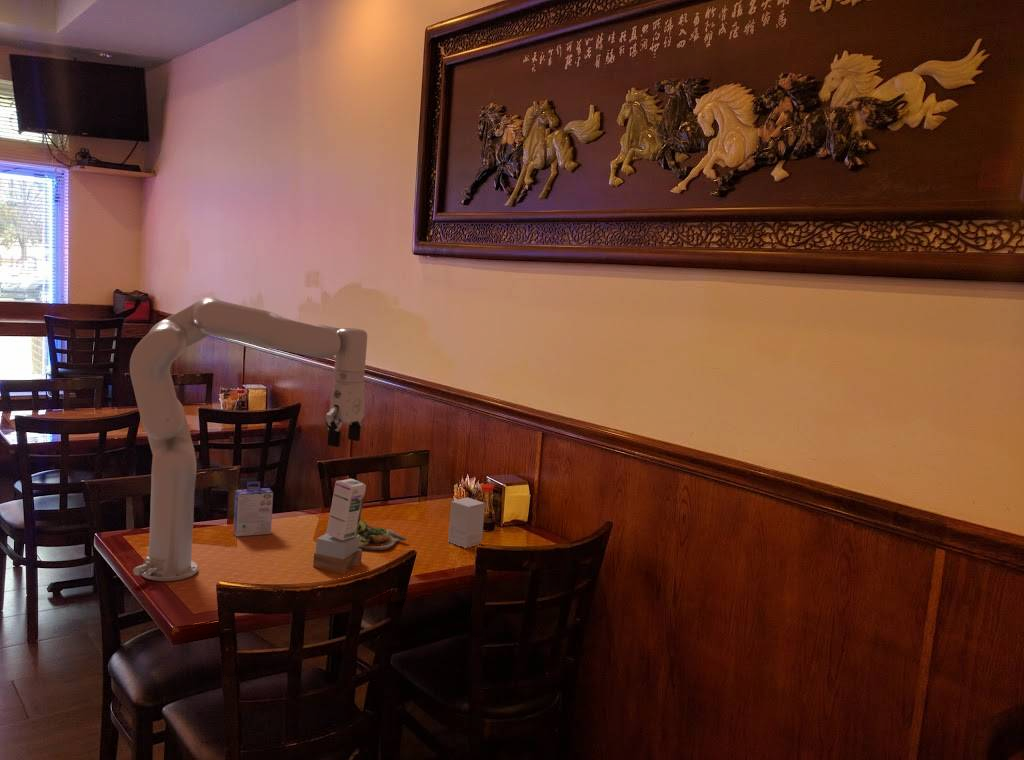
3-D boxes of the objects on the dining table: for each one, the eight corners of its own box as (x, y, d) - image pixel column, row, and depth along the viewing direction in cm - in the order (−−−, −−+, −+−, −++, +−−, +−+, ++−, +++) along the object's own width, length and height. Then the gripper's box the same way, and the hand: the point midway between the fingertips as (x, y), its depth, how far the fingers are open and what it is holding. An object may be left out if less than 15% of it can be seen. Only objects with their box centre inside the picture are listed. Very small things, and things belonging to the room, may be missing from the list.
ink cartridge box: (267, 528, 228) (270, 479, 226) (272, 534, 223) (275, 484, 221) (231, 530, 223) (234, 481, 221) (235, 537, 218) (238, 486, 216)
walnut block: (344, 575, 200) (345, 560, 200) (313, 568, 203) (314, 553, 202) (360, 563, 209) (362, 549, 208) (330, 557, 211) (331, 543, 211)
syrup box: (342, 541, 200) (353, 486, 199) (325, 533, 203) (335, 479, 201) (356, 537, 205) (367, 484, 204) (339, 529, 208) (350, 477, 206)
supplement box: (482, 544, 232) (486, 502, 231) (465, 549, 226) (469, 506, 225) (464, 537, 237) (467, 496, 235) (446, 542, 231) (450, 500, 229)
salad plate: (412, 536, 234) (413, 521, 234) (397, 556, 217) (398, 540, 216) (349, 528, 236) (350, 513, 235) (329, 547, 218) (330, 531, 218)
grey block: (343, 559, 200) (344, 544, 199) (315, 553, 202) (316, 538, 202) (358, 550, 208) (359, 535, 207) (331, 544, 210) (332, 530, 209)
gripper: (343, 382, 191) (338, 451, 193) (378, 376, 207) (373, 440, 209) (317, 377, 193) (312, 446, 195) (353, 372, 210) (348, 435, 212)
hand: (343, 443), depth 202 cm, fingers open, 9 cm apart
